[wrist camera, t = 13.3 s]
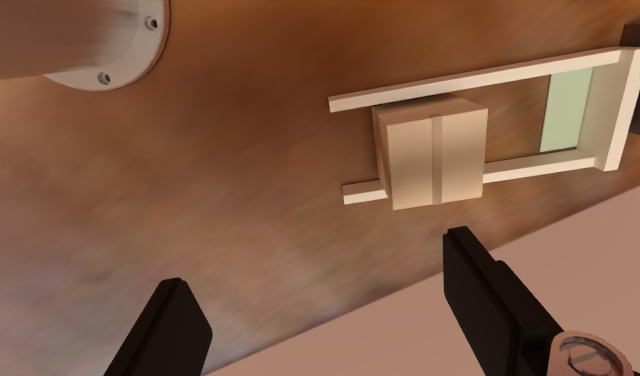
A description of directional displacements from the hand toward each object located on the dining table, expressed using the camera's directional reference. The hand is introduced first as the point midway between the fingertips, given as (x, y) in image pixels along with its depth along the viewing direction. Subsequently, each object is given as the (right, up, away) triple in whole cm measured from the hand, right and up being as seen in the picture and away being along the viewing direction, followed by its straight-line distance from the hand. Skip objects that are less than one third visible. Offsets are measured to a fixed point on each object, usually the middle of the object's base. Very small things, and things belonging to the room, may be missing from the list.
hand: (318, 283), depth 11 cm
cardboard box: (+8, +8, +14) cm, 18 cm away
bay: (+12, +8, +14) cm, 20 cm away
